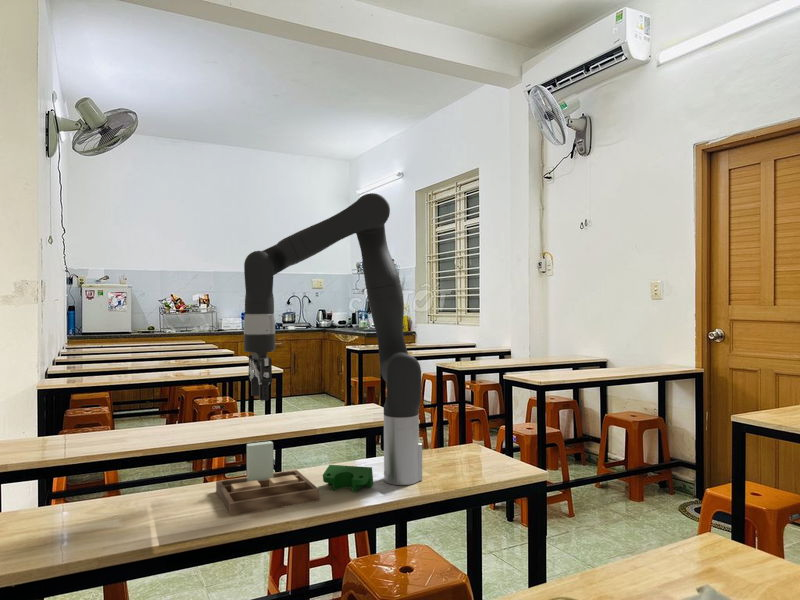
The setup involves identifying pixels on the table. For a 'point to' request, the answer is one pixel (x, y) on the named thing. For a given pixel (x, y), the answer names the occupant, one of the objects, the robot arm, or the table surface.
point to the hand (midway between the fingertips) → (259, 398)
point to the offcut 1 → (245, 486)
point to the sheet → (259, 461)
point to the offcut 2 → (282, 480)
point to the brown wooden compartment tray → (266, 494)
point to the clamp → (348, 477)
